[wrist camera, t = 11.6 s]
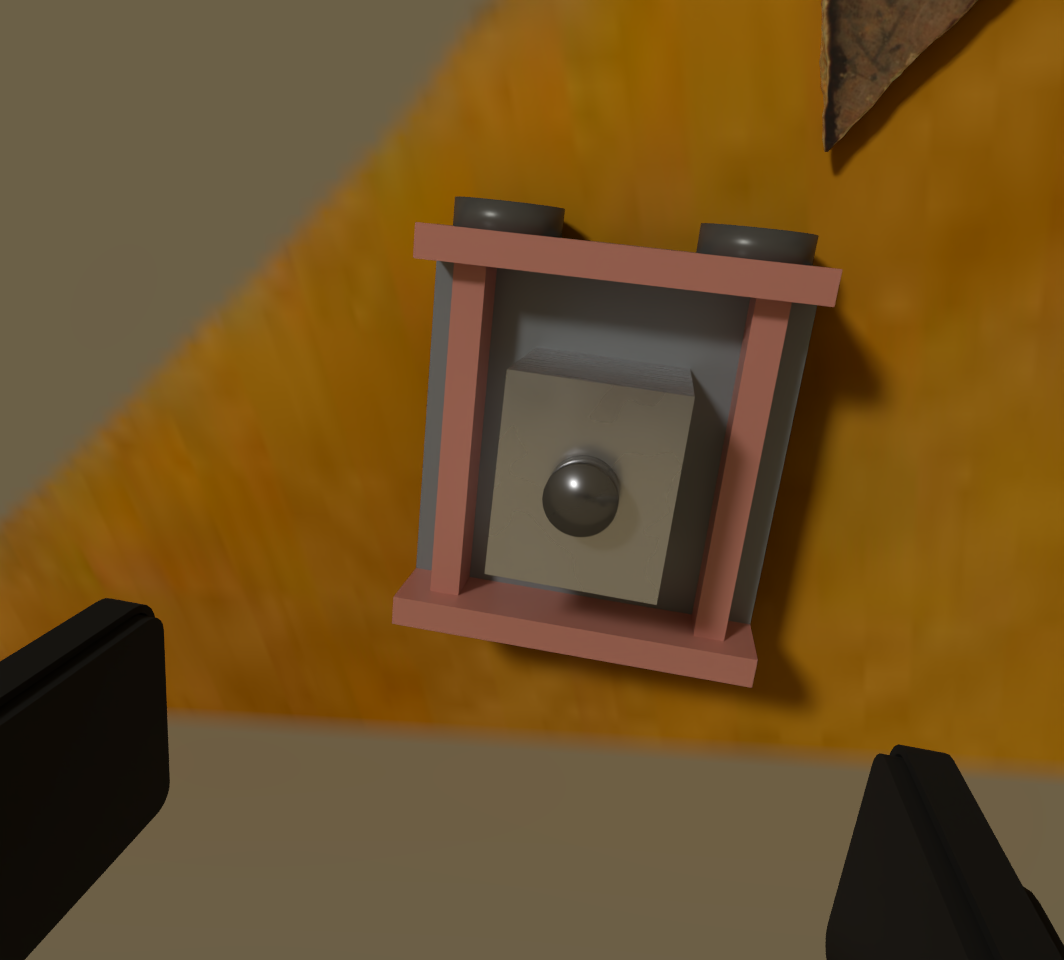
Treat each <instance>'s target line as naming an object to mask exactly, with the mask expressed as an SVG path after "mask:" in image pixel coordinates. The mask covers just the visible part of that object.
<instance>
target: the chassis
mask: <svg viewBox="0 0 1064 960" xmlns="http://www.w3.org/2000/svg"><path fill="white" fill-rule="evenodd" d="M564 213H565V209H563V208H557V207H551V206H544V205H536V204H528V203H520V202H511V201H502V200H493V199H483V198H471V197H455V206H454V220H453V226H450V225H440V224H430V223H419V222H415V236H414V254H413V258H419V259H428V260H436V261H437V265H436V280H435V295H434V310H433V325H432V340H431V355H430V370H429V385H428V400H427V415H426V430H425V445H424V460H423V475H422V490H421V505H420V520H419V535H418V550H417V565H416V569H415V570H414V572H413V573H412V574H411V575H410V577H409V578H408V579H407V580H406V582H405V583H404V584H403V586H402V587H401V588H400V589H399V591H398V592H397V593H396V594H395V596H394V600H393V617H392V623H393V624H398V625H404V626H409V627H415V628H421V629H426V630H432V631H437V632H443V633H448V634H454V635H460V636H465V637H471V638H476V639H482V640H488V641H493V642H499V643H504V644H510V645H515V646H521V647H527V648H532V649H538V650H543V651H549V652H555V653H560V654H566V655H571V656H577V657H582V658H588V659H594V660H599V661H605V662H610V663H616V664H622V665H627V666H633V667H638V668H644V669H649V670H655V671H661V672H666V673H672V674H677V675H683V676H689V677H694V678H700V679H705V680H711V681H716V682H722V683H728V684H733V685H739V686H744V687H750V688H752V685H753V680H754V676H755V671H756V666H757V662H758V659H757V654H756V649H755V645H754V640H753V635H752V631H751V626H750V623H751V618H752V613H753V608H754V604H755V599H756V594H757V589H758V585H759V580H760V575H761V570H762V566H763V561H764V556H765V551H766V547H767V542H768V537H769V532H770V528H771V523H772V518H773V513H774V508H775V504H776V499H777V494H778V489H779V485H780V480H781V475H782V470H783V466H784V461H785V456H786V451H787V447H788V442H789V437H790V432H791V428H792V423H793V418H794V413H795V408H796V404H797V399H798V394H799V389H800V385H801V380H802V375H803V370H804V366H805V361H806V356H807V351H808V347H809V342H810V337H811V332H812V328H813V323H814V318H815V313H816V308H817V305H821V306H829V307H834V306H835V302H836V297H837V292H838V288H839V283H840V279H841V274H842V269H834V268H827V267H819V266H812V265H813V260H814V255H815V250H816V245H817V240H818V235H814V234H808V233H801V232H793V231H785V230H776V229H767V228H757V227H747V226H736V225H724V224H710V223H701V227H700V234H699V240H698V246H697V252H696V253H694V252H685V251H676V250H667V249H658V248H649V247H640V246H631V245H622V244H613V243H604V242H595V241H586V240H577V239H568V238H562V230H563V222H564ZM536 347H542V348H549V349H556V350H563V351H570V352H577V353H584V354H591V355H598V356H605V357H612V358H619V359H626V360H633V361H640V362H647V363H654V364H661V365H668V366H675V367H682V368H689V369H690V371H691V377H692V383H693V389H694V394H695V399H694V405H693V410H692V416H691V421H690V427H689V432H688V437H687V443H686V448H685V454H684V459H683V465H682V470H681V475H680V481H679V486H678V492H677V497H676V503H675V508H674V513H673V519H672V524H671V530H670V535H669V541H668V546H667V551H666V557H665V562H664V568H663V573H662V579H661V584H660V590H659V595H658V600H657V605H654V604H648V603H643V602H637V601H632V600H626V599H621V598H615V597H610V596H604V595H599V594H593V593H588V592H582V591H577V590H571V589H565V588H560V587H554V586H549V585H543V584H538V583H532V582H527V581H521V580H516V579H510V578H505V577H499V576H494V575H488V574H484V573H485V564H486V555H487V546H488V537H489V527H490V518H491V509H492V500H493V491H494V482H495V473H496V463H497V454H498V445H499V436H500V427H501V418H502V409H503V399H504V390H505V381H506V372H507V369H508V368H509V367H510V366H512V365H513V364H514V363H516V362H517V361H518V360H520V359H521V358H522V357H524V356H525V355H526V354H528V353H529V352H530V351H532V350H533V349H534V348H536Z"/></svg>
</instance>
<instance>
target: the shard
mask: <svg viewBox="0 0 1064 960" xmlns="http://www.w3.org/2000/svg"><path fill="white" fill-rule="evenodd" d="M977 1H978V0H822V2H821V6H822V28H821V29H822V39H821V55H820V61H819V62H820V75H821V89H822V92H823V95H824V111H823V145H824V151H825V152H828V151H829V150H830V149H831V148H832V147H833V146H834V144H836V143H837V142H838V141H839V140H840V139H841V138H843V137H844V136H845V135H846V133H847V132H848V131H849V129H850V128H851V127H852V126H853V125H854V124H855V123H856V122H857V121H858V120H859V119H860V118H861V117H862V116H863V115H864V114H865V113H866V112H867V111H868V110H870V109H871V108H872V107H873V105H874V104H875V103H876V102H877V100H878V99H879V98H880V97H881V95H882V94H883V93H884V92H885V90H886V89H887V88H888V87H889V85H890V84H891V83H892V82H893V81H894V80H895V79H896V78H897V77H899V76H900V75H901V74H902V72H903V71H904V70H905V69H906V68H907V67H908V66H909V65H910V64H911V63H912V62H913V61H914V60H915V59H916V58H917V57H918V56H919V55H920V54H921V53H922V52H923V51H924V50H925V49H926V48H927V47H928V46H930V45H931V44H932V43H933V42H934V40H936V39H938V38H939V37H941V36H942V35H943V34H944V33H945V32H947V31H948V30H949V29H951V28H952V27H953V26H954V25H955V24H956V23H957V22H958V21H959V20H960V19H961V18H962V17H963V16H964V15H965V14H966V13H967V12H968V11H969V10H970V9H971V8H972V6H973V5H974V4H975V3H976V2H977Z"/></svg>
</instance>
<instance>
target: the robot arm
mask: <svg viewBox="0 0 1064 960" xmlns="http://www.w3.org/2000/svg"><path fill="white" fill-rule="evenodd" d="M169 783H170V779H169V753H168V726H167V701H166V675H165V650H164V629H163V624H162V622H161V620H159V619H158V618H155V616H154V613H153V611H152V609H151V608H150V607H148V606H147V605H143V604H137V603H132V602H127V601H121V600H116V599H109V598H105V599H102V600H100V601H98V602H96V603H94V604H93V605H91V606H89V607H88V608H86V609H85V610H83V611H81V612H80V613H78V614H77V615H75V616H73V617H72V618H70V619H68V620H67V621H65V622H64V623H62V624H60V625H59V626H57V627H55V628H54V629H52V630H51V631H49V632H47V633H46V634H44V635H42V636H41V637H39V638H38V639H36V640H34V641H33V642H31V643H30V644H28V645H26V646H25V647H23V648H21V649H20V650H18V651H17V652H15V653H13V654H12V655H10V656H8V657H7V658H5V659H4V660H2V661H0V960H25V959H26V958H27V956H28V955H29V954H30V953H31V952H32V951H33V950H34V949H35V948H36V947H37V945H38V944H39V943H40V942H41V941H42V940H43V939H44V938H45V937H46V935H47V934H48V933H49V932H50V931H51V930H52V929H53V928H54V927H55V925H56V924H57V923H58V922H59V921H60V920H61V919H62V918H63V917H64V916H65V915H66V914H67V912H68V911H69V910H70V909H71V908H72V907H73V906H74V905H75V904H76V902H77V901H78V900H79V899H80V898H81V897H82V896H83V895H84V894H85V893H86V891H87V890H88V889H89V888H90V887H91V886H92V885H93V884H94V883H95V882H96V880H97V879H98V878H99V877H100V876H101V875H102V874H103V873H104V872H105V871H106V869H107V868H108V867H109V866H110V865H111V864H112V863H113V862H114V860H116V858H117V857H118V856H119V855H120V854H121V853H122V852H123V851H124V850H125V848H126V847H127V846H128V845H129V844H130V843H131V842H132V841H133V840H134V839H135V837H136V836H137V835H138V834H139V833H140V832H141V831H142V830H143V829H144V828H145V827H146V825H147V824H148V823H149V822H150V821H151V820H152V819H153V818H154V817H155V816H156V814H157V813H158V812H159V810H160V809H161V808H162V806H163V804H164V802H165V800H166V797H167V794H168V791H169ZM826 958H827V960H1064V945H1063V943H1062V942H1061V940H1060V938H1059V936H1058V935H1057V933H1056V931H1055V929H1054V927H1053V926H1052V924H1051V922H1050V920H1049V918H1048V917H1047V915H1046V913H1045V911H1044V910H1043V908H1042V906H1041V904H1040V903H1039V901H1038V900H1037V899H1036V897H1035V896H1034V895H1033V893H1032V892H1030V891H1029V890H1028V889H1026V888H1025V887H1023V886H1022V884H1021V882H1020V881H1019V879H1018V877H1017V875H1016V873H1015V871H1014V869H1013V868H1012V866H1011V864H1010V862H1009V860H1008V858H1007V857H1006V855H1005V853H1004V851H1003V850H1002V848H1001V846H1000V844H999V842H998V840H997V838H996V837H995V835H994V833H993V831H992V829H991V828H990V826H989V824H988V822H987V820H986V819H985V817H984V815H983V813H982V811H981V809H980V807H979V806H978V804H977V802H976V800H975V798H974V796H973V795H972V793H971V791H970V789H969V787H968V786H967V784H966V782H965V780H964V778H963V776H962V775H961V773H960V771H959V769H958V767H957V766H956V764H955V762H954V760H953V759H952V758H951V756H950V755H948V754H946V753H942V752H936V751H931V750H925V749H920V748H915V747H909V746H904V745H896V746H894V748H893V749H892V751H891V753H890V755H885V754H878V755H877V756H876V757H875V758H874V761H873V764H872V767H871V771H870V774H869V778H868V781H867V785H866V789H865V792H864V796H863V800H862V803H861V807H860V810H859V814H858V817H857V821H856V825H855V828H854V832H853V835H852V839H851V843H850V846H849V850H848V853H847V857H846V860H845V864H844V868H843V872H842V875H841V878H840V882H839V886H838V890H837V893H836V896H835V900H834V904H833V907H832V911H831V914H830V919H829V922H828V926H827V932H826Z"/></svg>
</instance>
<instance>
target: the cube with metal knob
mask: <svg viewBox="0 0 1064 960" xmlns="http://www.w3.org/2000/svg"><path fill="white" fill-rule="evenodd" d="M694 399H695V394H694V389H693V383H692V377H691V371H690V369H689V368H682V367H675V366H668V365H661V364H654V363H647V362H640V361H633V360H626V359H619V358H612V357H605V356H598V355H591V354H584V353H577V352H570V351H563V350H556V349H549V348H542V347H536V348H534V349H533V350H532V351H530V352H529V353H528V354H526V355H525V356H524V357H522V358H521V359H520V360H518V361H517V362H516V363H514V364H513V365H512V366H510V367H509V368H508V369H507V372H506V381H505V390H504V399H503V409H502V418H501V427H500V436H499V445H498V454H497V463H496V473H495V482H494V491H493V500H492V509H491V518H490V527H489V537H488V546H487V555H486V564H485V573H484V574H488V575H494V576H499V577H505V578H510V579H516V580H521V581H527V582H532V583H538V584H543V585H549V586H554V587H560V588H565V589H571V590H577V591H582V592H588V593H593V594H599V595H604V596H610V597H615V598H621V599H626V600H632V601H637V602H643V603H648V604H654V605H657V600H658V595H659V590H660V584H661V579H662V573H663V568H664V562H665V557H666V551H667V546H668V541H669V535H670V530H671V524H672V519H673V513H674V508H675V503H676V497H677V492H678V486H679V481H680V475H681V470H682V465H683V459H684V454H685V448H686V443H687V437H688V432H689V427H690V421H691V416H692V410H693V405H694Z"/></svg>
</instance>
